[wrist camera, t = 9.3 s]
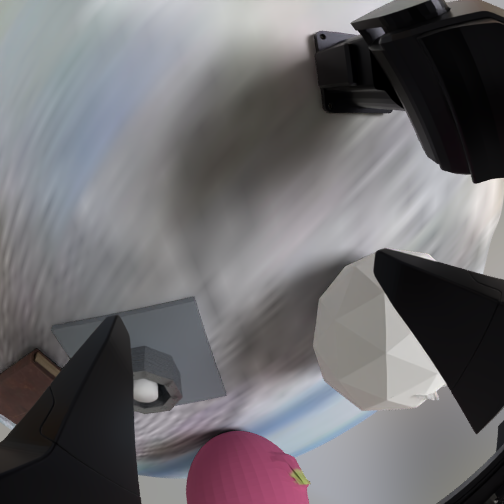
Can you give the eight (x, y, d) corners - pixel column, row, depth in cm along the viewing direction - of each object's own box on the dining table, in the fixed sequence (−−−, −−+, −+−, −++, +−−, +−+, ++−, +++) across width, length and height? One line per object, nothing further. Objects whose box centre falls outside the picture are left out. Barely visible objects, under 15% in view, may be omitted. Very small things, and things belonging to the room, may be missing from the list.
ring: (165, 341, 23) (165, 366, 21) (185, 384, 27) (188, 407, 24) (100, 353, 22) (96, 377, 20) (128, 393, 25) (127, 415, 23)
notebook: (133, 419, 28) (133, 432, 26) (54, 439, 29) (53, 449, 27) (34, 346, 20) (29, 360, 18) (-20, 386, 21) (-24, 396, 19)
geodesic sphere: (478, 233, 21) (533, 335, 9) (440, 341, 27) (443, 447, 16) (335, 212, 26) (296, 304, 15) (325, 325, 33) (289, 426, 21)
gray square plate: (194, 296, 23) (198, 325, 20) (225, 391, 29) (232, 416, 26) (52, 325, 20) (42, 352, 17) (114, 409, 27) (113, 433, 24)
